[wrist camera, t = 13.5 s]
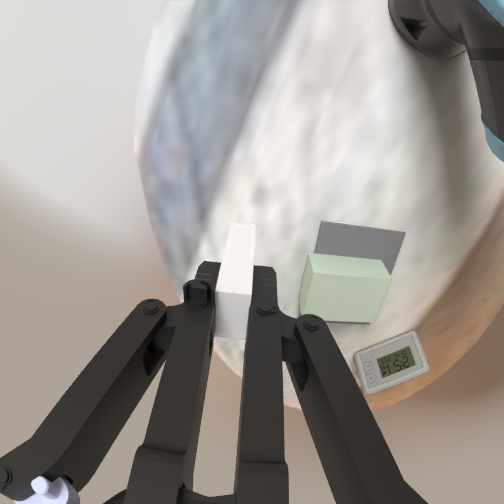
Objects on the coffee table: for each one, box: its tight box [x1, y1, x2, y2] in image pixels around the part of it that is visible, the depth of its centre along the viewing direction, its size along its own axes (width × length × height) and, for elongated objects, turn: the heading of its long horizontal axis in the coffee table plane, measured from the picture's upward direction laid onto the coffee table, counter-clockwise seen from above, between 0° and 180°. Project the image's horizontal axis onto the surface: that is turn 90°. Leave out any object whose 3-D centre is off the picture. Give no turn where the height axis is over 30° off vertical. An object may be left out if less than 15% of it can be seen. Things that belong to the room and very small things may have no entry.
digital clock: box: [354, 330, 429, 395], centre depth 61 cm, size 16×9×11 cm, turn 105°
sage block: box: [299, 253, 392, 323], centre depth 52 cm, size 6×10×14 cm
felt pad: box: [299, 221, 405, 324], centre depth 55 cm, size 16×22×1 cm
